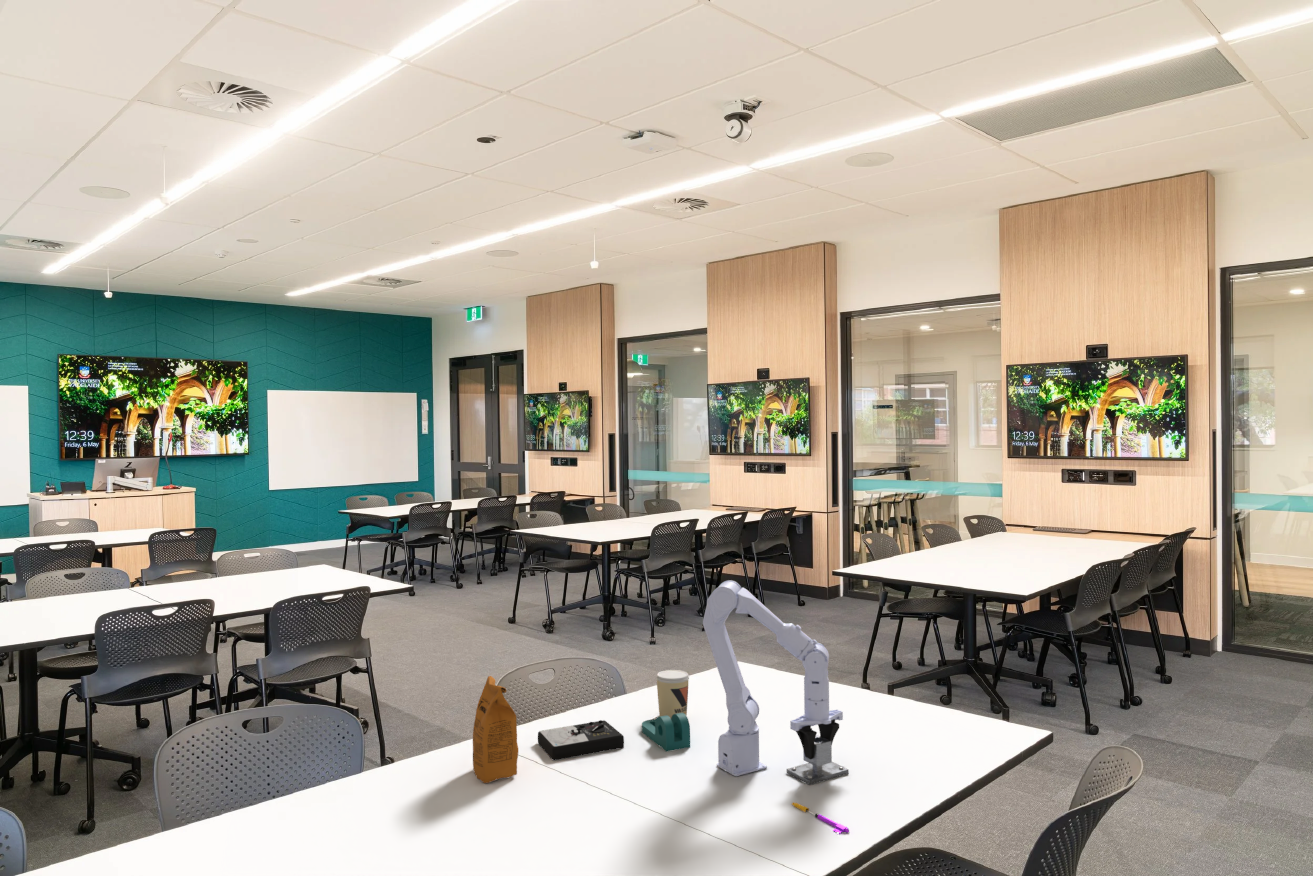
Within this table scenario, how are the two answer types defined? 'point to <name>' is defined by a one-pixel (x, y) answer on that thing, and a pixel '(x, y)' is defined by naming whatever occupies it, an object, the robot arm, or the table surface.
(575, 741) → the black printed box
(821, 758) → the tube
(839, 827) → the purple and orange rod
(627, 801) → the table surface
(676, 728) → the bracket
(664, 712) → the coffee cup
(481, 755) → the coffee package
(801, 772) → the plate
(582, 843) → the table surface
